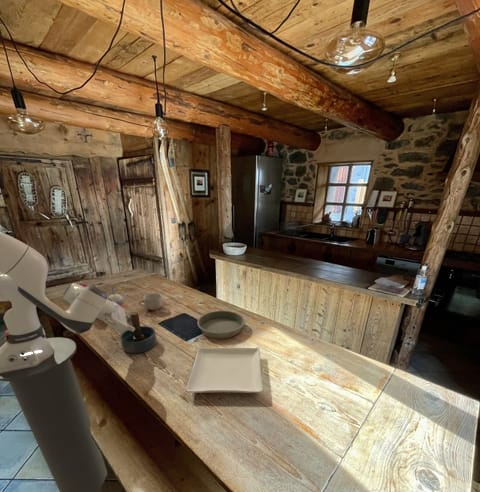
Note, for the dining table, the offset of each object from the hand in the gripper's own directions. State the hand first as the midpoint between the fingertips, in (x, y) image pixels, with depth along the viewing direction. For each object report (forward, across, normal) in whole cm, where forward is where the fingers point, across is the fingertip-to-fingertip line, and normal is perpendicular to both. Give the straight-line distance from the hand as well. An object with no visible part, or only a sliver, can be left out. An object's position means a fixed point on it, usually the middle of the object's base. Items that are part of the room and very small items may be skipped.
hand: (133, 325), depth 121 cm
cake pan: (+37, -3, -22) cm, 43 cm away
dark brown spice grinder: (+8, -1, +6) cm, 10 cm away
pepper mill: (-7, +49, +23) cm, 55 cm away
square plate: (+29, -38, -13) cm, 50 cm away
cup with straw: (+4, +37, +12) cm, 39 cm away
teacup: (+17, +39, -1) cm, 43 cm away
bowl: (+8, 0, +7) cm, 11 cm away
